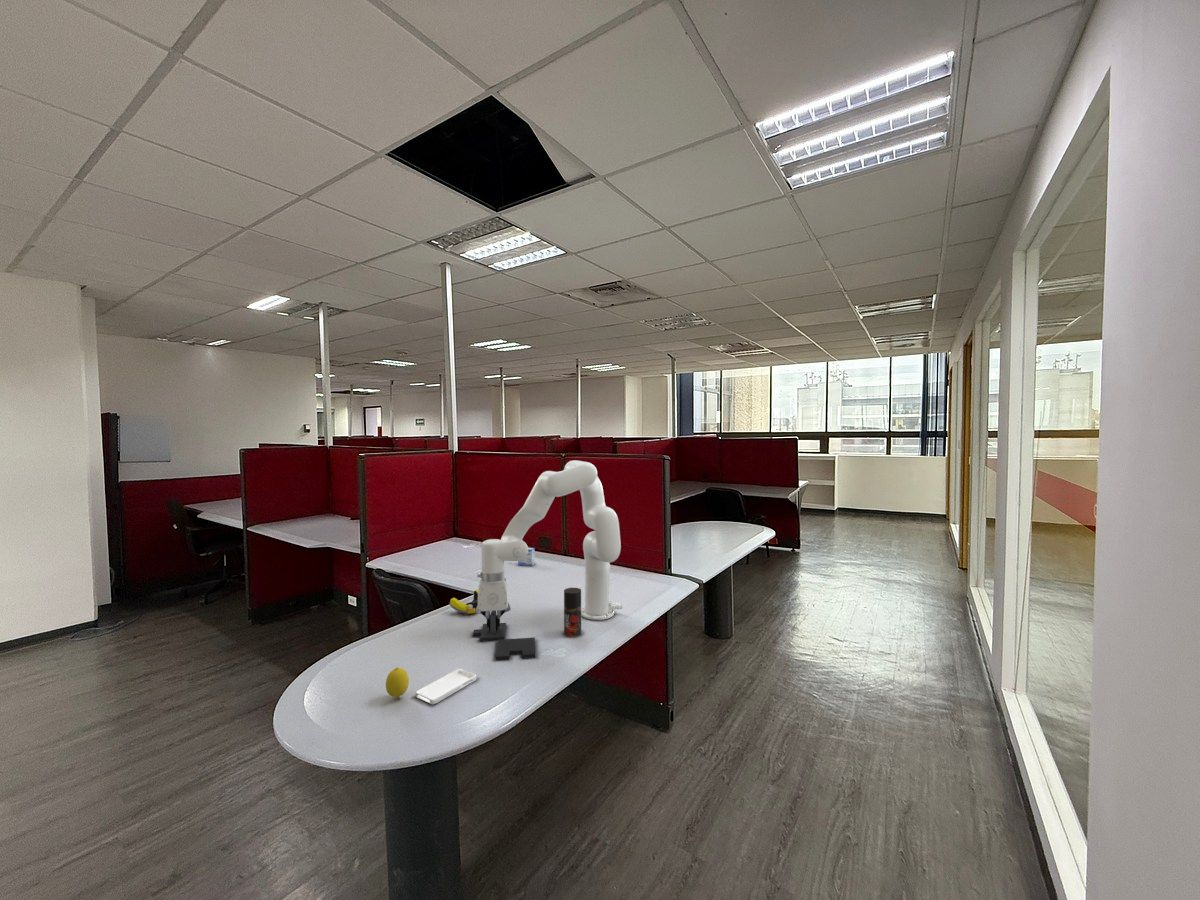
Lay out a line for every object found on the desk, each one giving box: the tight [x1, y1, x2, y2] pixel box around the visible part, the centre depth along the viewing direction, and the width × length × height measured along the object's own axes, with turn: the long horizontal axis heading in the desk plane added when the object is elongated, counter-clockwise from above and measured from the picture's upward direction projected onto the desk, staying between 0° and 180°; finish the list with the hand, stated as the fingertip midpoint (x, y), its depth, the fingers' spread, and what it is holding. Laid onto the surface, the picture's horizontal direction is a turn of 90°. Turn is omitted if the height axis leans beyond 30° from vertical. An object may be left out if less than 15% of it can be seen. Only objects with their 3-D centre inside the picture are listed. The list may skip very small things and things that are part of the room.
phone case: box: [415, 668, 477, 706], centre depth 129 cm, size 7×1×15 cm
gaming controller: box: [449, 589, 478, 616], centre depth 187 cm, size 15×6×10 cm
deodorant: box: [563, 587, 582, 638], centre depth 164 cm, size 6×6×15 cm
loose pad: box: [472, 611, 507, 643], centre depth 164 cm, size 12×11×7 cm
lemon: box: [385, 666, 410, 699], centre depth 124 cm, size 6×6×8 cm
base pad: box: [495, 637, 536, 661], centre depth 152 cm, size 12×12×1 cm
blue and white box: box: [517, 547, 536, 567], centre depth 250 cm, size 8×4×9 cm, turn 80°
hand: (493, 628), depth 164 cm, fingers closed on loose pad
